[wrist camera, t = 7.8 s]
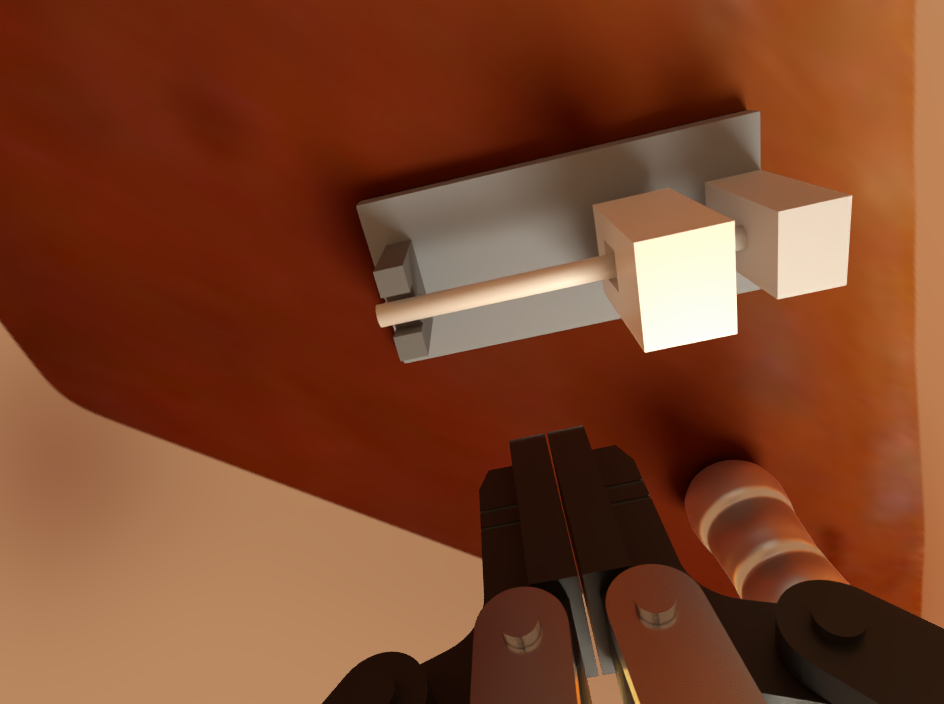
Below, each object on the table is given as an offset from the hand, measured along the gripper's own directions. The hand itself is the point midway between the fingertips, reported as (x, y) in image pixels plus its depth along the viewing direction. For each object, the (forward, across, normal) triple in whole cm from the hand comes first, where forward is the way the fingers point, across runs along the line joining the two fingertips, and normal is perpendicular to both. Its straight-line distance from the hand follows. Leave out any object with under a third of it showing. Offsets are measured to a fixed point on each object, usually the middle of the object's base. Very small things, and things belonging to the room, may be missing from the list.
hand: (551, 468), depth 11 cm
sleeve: (+21, -7, +3) cm, 22 cm away
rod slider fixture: (+24, -4, +3) cm, 24 cm away
